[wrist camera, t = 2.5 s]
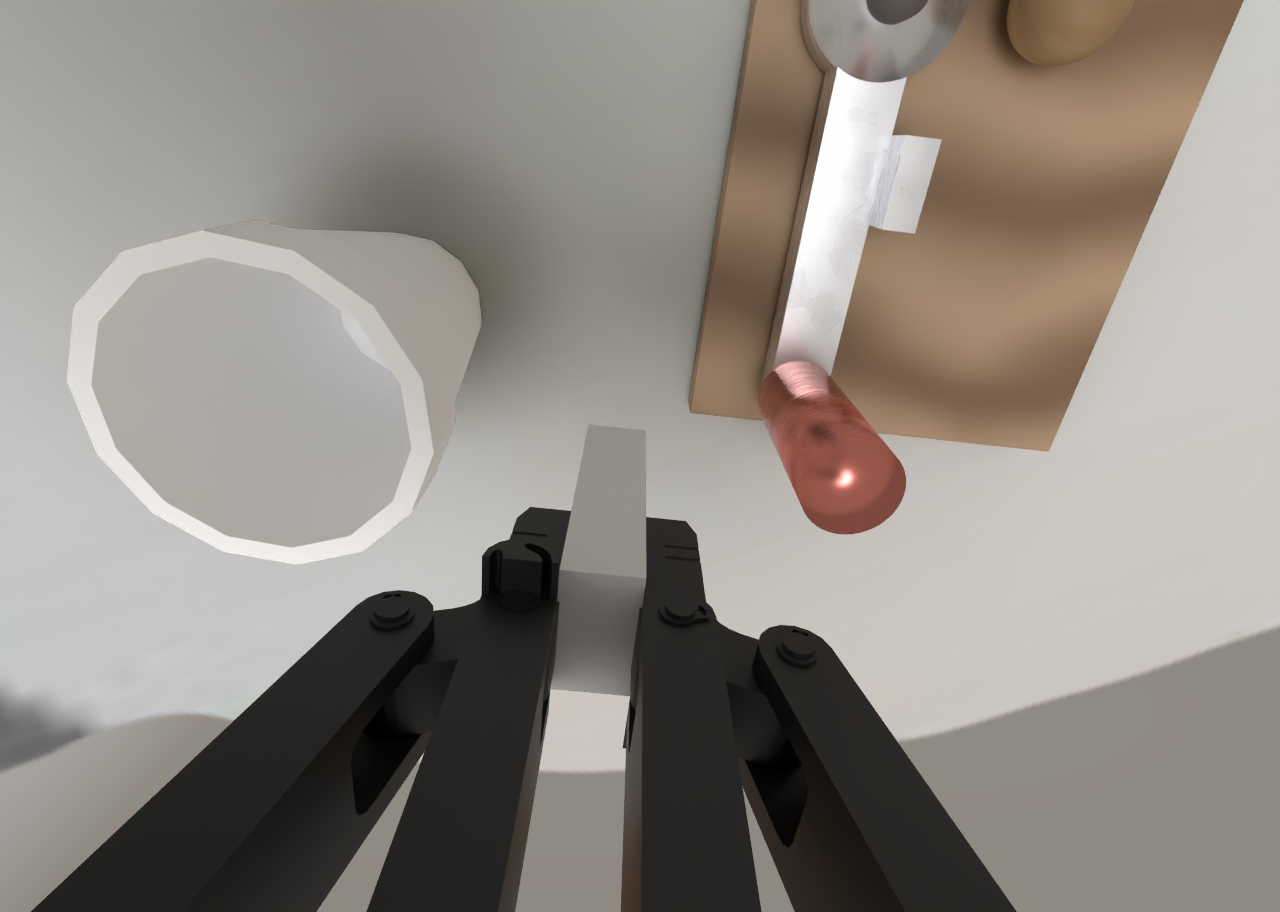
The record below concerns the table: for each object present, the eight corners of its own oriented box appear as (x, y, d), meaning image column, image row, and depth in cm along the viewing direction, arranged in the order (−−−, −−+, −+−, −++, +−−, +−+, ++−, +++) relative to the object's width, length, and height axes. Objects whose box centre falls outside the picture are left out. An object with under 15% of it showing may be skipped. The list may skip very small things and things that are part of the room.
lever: (819, -97, 21) (945, -267, 12) (966, -75, 22) (1192, -228, 13) (725, 410, 29) (761, 526, 20) (833, 422, 29) (916, 541, 20)
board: (786, -219, 21) (823, -311, 17) (1272, -143, 22) (1425, -213, 18) (688, 401, 31) (696, 442, 26) (1031, 438, 32) (1093, 485, 27)
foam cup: (335, 152, 26) (87, 158, 14) (546, 254, 28) (478, 333, 16) (284, 356, 30) (55, 492, 18) (474, 435, 32) (376, 605, 20)
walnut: (1008, -58, 22) (1071, -93, 19) (1109, -43, 22) (1189, -75, 19) (973, 64, 24) (1025, 51, 20) (1067, 77, 24) (1135, 66, 20)
